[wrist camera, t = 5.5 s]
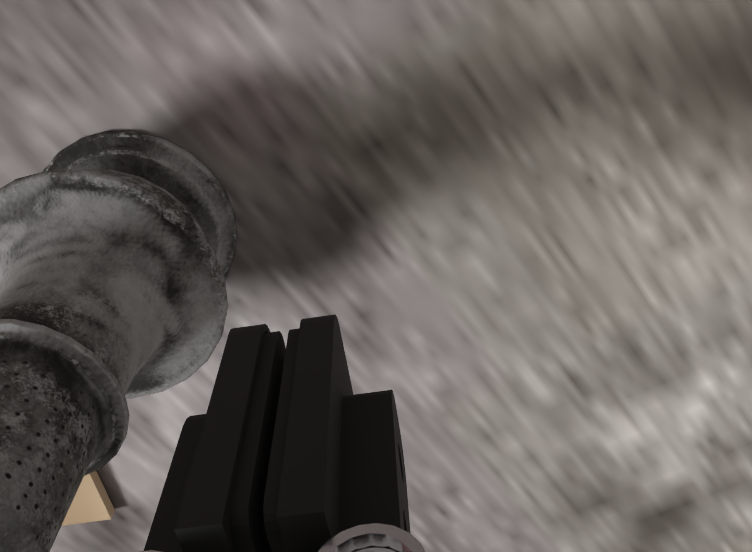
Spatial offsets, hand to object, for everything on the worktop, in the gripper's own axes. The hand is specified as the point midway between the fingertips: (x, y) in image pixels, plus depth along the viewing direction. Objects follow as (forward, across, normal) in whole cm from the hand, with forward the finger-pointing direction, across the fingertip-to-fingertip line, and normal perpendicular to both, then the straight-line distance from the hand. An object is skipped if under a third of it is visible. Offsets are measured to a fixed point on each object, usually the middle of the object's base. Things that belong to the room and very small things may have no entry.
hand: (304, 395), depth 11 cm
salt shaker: (+8, +5, 0) cm, 10 cm away
